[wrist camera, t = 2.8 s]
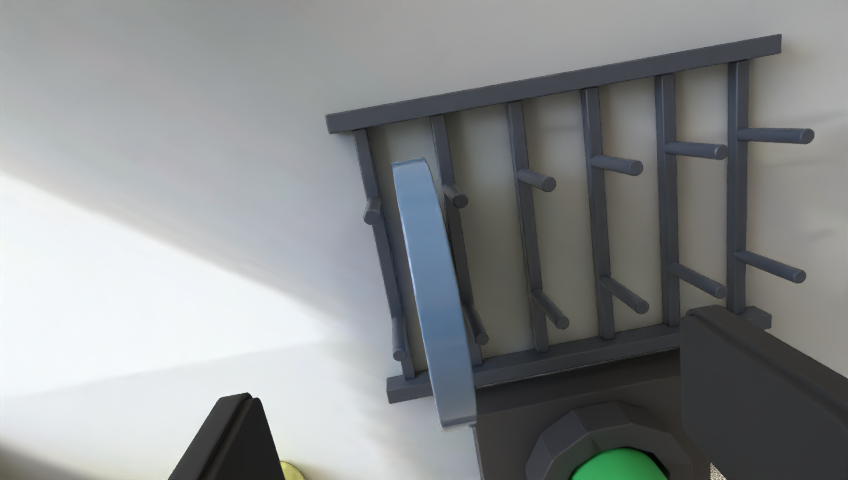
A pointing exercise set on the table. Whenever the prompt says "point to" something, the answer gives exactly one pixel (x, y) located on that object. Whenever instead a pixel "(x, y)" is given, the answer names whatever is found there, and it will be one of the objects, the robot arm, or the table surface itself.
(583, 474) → the button
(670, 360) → the block
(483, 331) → the dish rack
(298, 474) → the key
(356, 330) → the table surface
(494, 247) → the table surface
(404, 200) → the plate
